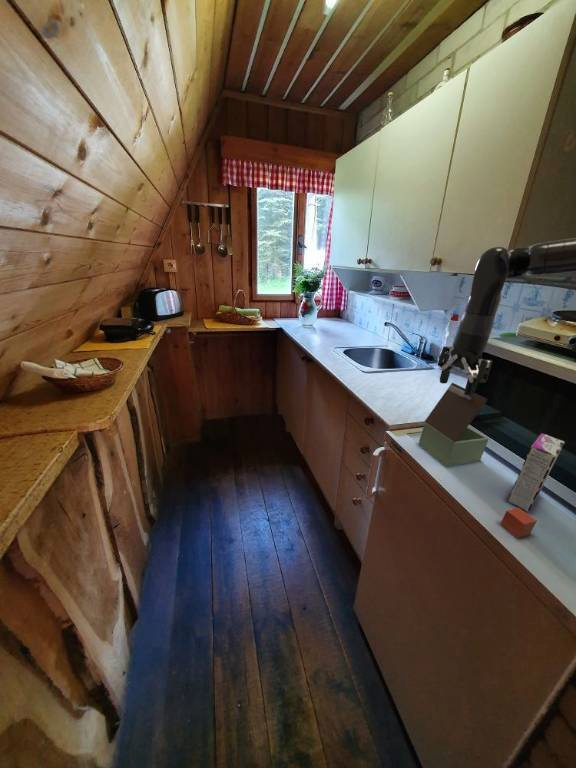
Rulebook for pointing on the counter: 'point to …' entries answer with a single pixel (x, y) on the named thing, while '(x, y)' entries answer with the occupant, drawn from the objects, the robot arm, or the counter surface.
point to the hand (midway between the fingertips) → (454, 388)
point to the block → (518, 522)
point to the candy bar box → (535, 471)
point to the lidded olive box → (453, 446)
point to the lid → (455, 411)
